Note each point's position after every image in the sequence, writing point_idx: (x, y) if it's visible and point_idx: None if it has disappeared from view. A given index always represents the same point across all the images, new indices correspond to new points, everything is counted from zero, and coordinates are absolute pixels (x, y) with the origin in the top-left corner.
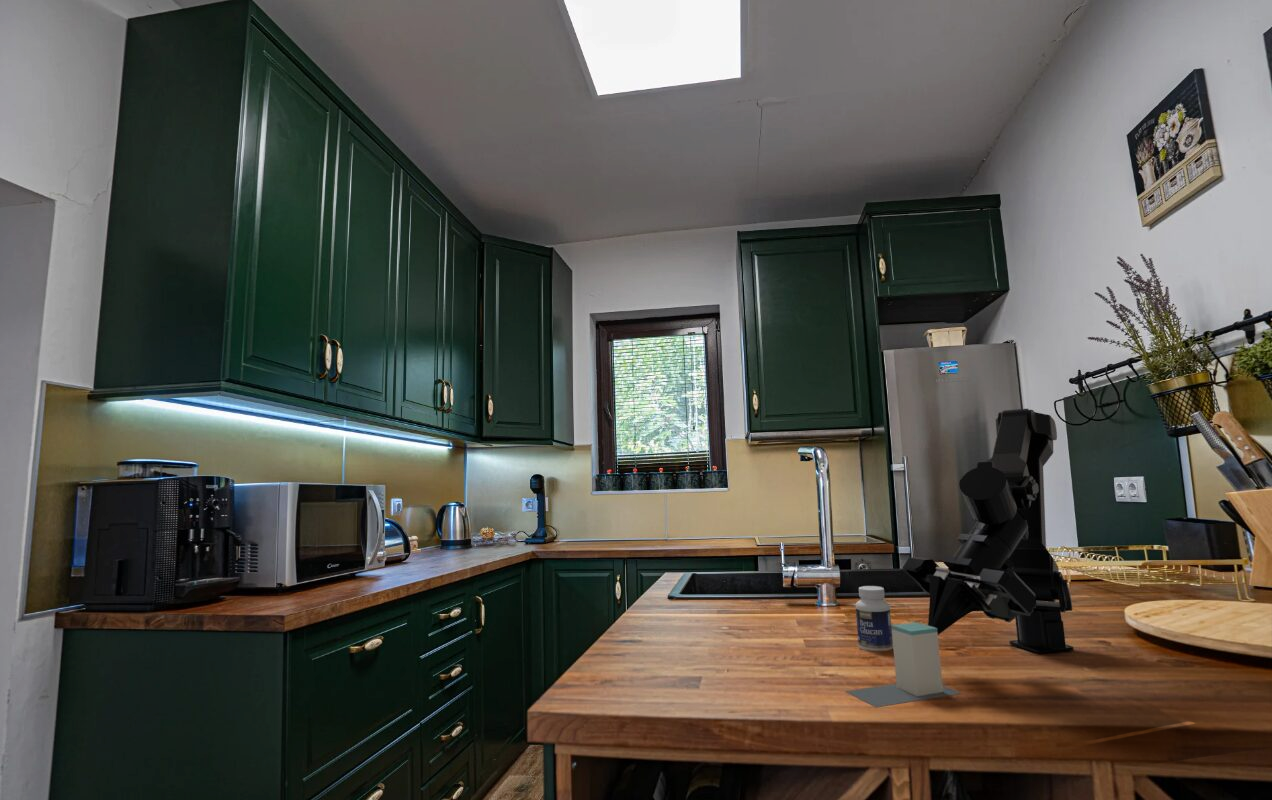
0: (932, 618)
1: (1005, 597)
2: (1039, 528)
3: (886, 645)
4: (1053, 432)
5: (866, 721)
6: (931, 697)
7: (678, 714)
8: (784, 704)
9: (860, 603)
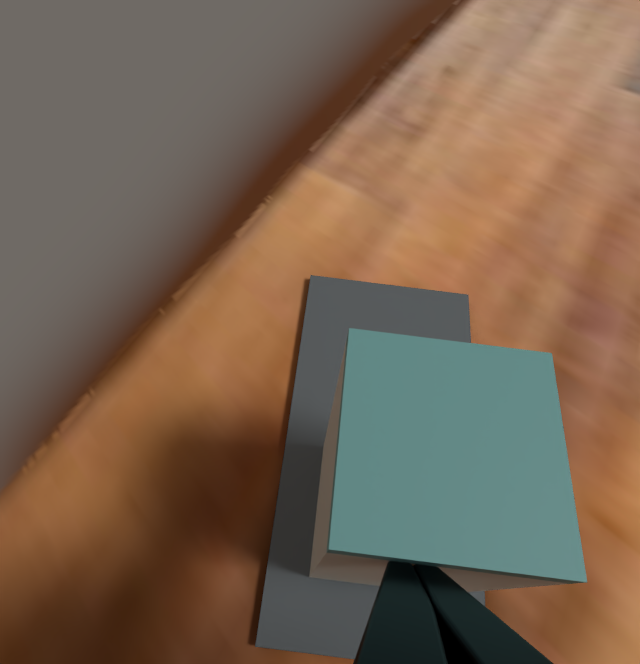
0: (443, 612)
1: None
2: None
3: None
4: None
5: (258, 214)
6: (285, 479)
7: (471, 16)
8: (448, 151)
9: None
